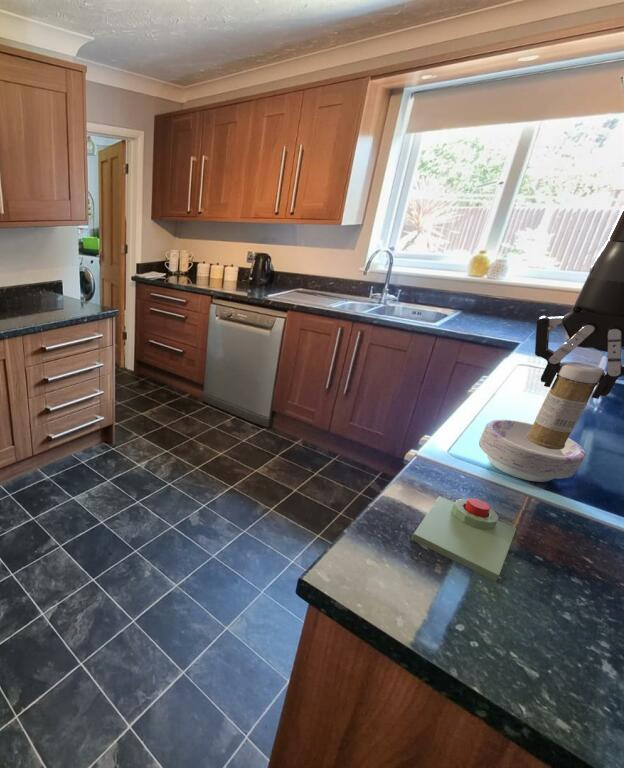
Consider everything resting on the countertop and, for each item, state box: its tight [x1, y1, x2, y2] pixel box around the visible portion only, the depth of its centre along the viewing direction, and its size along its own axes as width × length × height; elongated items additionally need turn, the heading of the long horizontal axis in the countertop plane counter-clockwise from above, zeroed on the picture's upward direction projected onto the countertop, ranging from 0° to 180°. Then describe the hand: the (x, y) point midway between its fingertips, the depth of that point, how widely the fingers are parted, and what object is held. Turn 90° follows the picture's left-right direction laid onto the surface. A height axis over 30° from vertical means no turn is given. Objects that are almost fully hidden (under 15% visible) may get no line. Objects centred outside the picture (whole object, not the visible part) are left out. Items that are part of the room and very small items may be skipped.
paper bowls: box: [478, 419, 587, 483], centre depth 88 cm, size 15×15×8 cm
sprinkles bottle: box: [526, 360, 606, 450], centre depth 65 cm, size 5×5×13 cm
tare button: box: [465, 497, 491, 518], centre depth 72 cm, size 3×3×2 cm
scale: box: [411, 495, 517, 582], centre depth 70 cm, size 16×11×3 cm
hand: (570, 390), depth 64 cm, fingers closed on sprinkles bottle, 4 cm apart
